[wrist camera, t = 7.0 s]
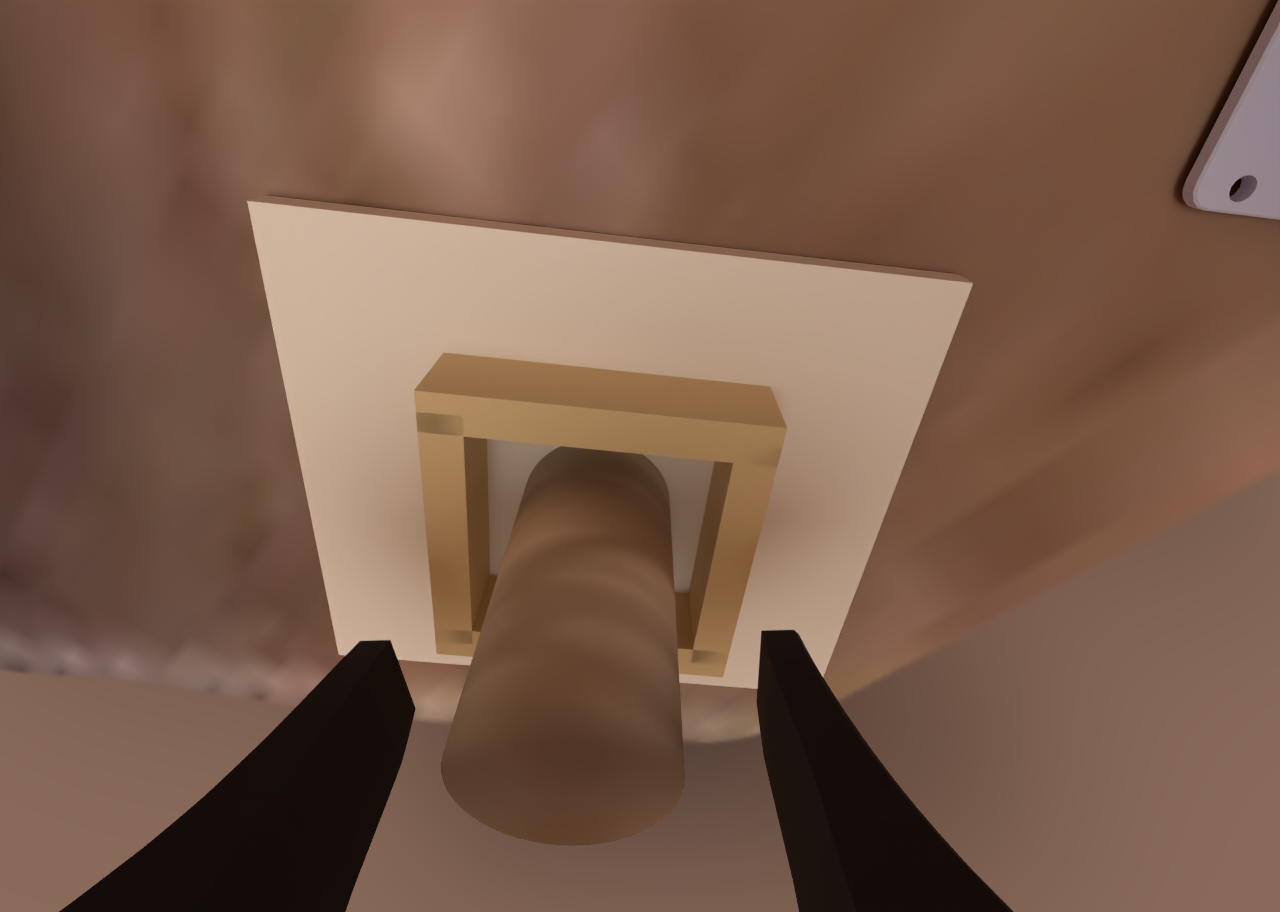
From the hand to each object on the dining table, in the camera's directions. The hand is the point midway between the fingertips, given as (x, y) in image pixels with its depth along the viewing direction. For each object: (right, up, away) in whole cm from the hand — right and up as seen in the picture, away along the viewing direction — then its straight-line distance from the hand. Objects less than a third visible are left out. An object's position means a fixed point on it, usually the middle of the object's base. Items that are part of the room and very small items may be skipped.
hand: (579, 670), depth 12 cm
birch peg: (0, +3, +5) cm, 6 cm away
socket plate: (0, +3, +6) cm, 7 cm away
